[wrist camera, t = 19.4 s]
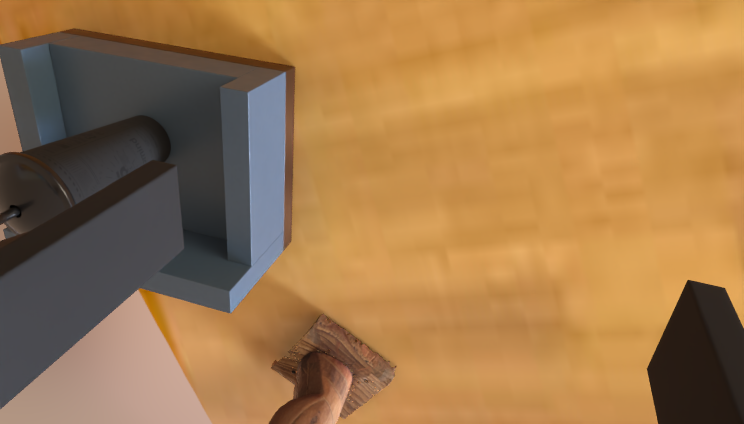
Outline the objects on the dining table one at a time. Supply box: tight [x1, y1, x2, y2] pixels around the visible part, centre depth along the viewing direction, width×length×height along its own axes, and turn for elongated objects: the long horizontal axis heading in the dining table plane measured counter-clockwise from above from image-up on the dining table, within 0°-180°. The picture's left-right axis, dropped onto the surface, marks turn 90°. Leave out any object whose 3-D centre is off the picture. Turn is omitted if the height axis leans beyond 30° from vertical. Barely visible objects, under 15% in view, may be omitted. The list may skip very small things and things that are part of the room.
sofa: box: [0, 29, 295, 313], centre depth 52 cm, size 19×24×13 cm
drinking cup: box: [0, 115, 171, 235], centre depth 43 cm, size 8×8×20 cm
